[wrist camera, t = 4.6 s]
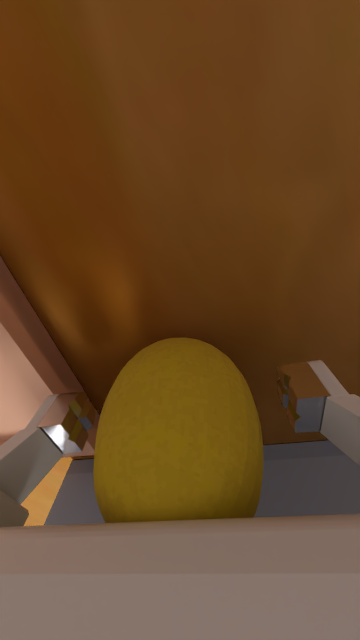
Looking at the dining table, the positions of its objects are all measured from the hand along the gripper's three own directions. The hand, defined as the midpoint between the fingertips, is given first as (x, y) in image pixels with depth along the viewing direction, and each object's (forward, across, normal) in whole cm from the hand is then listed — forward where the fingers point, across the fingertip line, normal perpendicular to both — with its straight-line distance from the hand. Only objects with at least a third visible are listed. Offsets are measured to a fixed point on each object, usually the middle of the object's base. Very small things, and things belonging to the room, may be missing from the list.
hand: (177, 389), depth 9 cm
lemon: (+3, 0, 0) cm, 3 cm away
